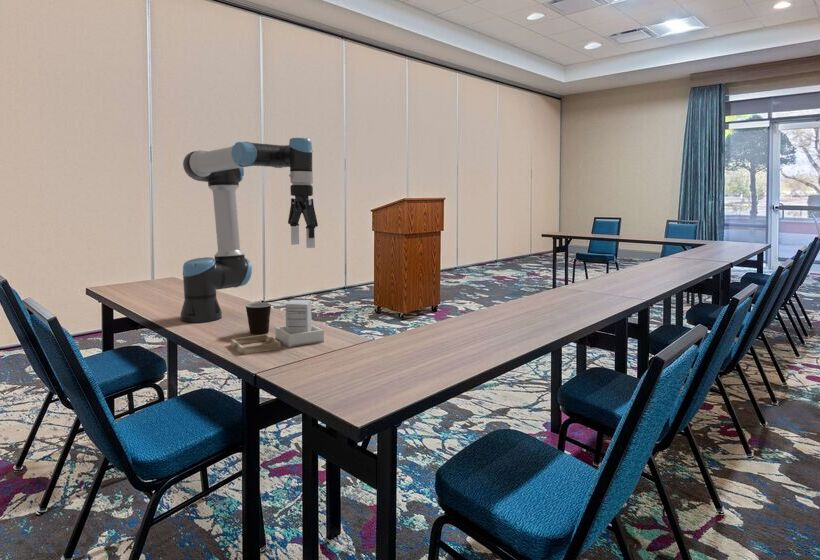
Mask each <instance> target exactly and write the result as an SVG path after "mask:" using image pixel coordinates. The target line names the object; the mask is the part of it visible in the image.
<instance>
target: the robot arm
mask: <svg viewBox="0 0 820 560" xmlns="http://www.w3.org/2000/svg"><path fill="white" fill-rule="evenodd" d="M312 143H313V142H312V139H310V138H307V137H291V138H290V139H289V143H288V144H287V145H285V144H284V145H280V144H269V143H257V142H250V141H237V142H235V143H234V145H232V146H228V147H223V148H219V149H214V150H210V151H209V150H208V151H205V150H194V151H191V152H188V153H187V154H186V156H184V158H183V162H182V165H183V166H182V167H183V170H184V172H185V174H186V176H188V177H189V178H190V179H192V180H195V181H197V182H206V183H207V186H208V187H207V188H209V189H210V190H211V191H212V196H213V198H212V199H213V210H214V220H215V231H216V232H215V233H216V245H217V252H216V253H215V254H214V257H210V256H207V257H197V258H192V259H190V260H187V261H185V262H184V263H183V265H182V278H183V279H182V280H183V294H184V296H183V297H184V301H183V304H182V307H181V311H180V321H182V322H185V323H207V322H214V321H218V320H220V319H222V318H223V311H222V309H221V306H220V304H219V303H220V302H218V298H217V291H218V290H223V289H224V290H225V289H232V288H239V287H243V286H246V285H247V284H248V282H249V281H250V280H251V277H252V274H253V273H252V272H253V269H252V267H253V266H252V263H251V261H250V260H249V259H248V258H247V257H245V253H244V252H243V251H242V250H241V244H240V243H241V242H240V231H239V219H238V209H237V207H238V206H237V195H236V193H237V192H236V190H238V189H239V187H240V184H239V183H241V182H242V181H243V179H244V176H245V169H244V168H246V167H247V168H248V167H271V168H275V169H277V168H278V169H282V168H290V169H289V172H290V173H289V175H288V177H290V181H289V182H290V184H291V185H290V188H289V189H290V196H292V198H290V208H289V215H288V220H287V223H288V225H289V226H290V242H291V243H290V244H291V245H300V227H299V226H300V223H299V222H300V218H301V216H303V218H304V221H305V224H306V226H305V232H306V236H305V238H306V239H305V241H306V242H305V244H306V249H314V248H315V247H316V244H315V243H316V241H315V239H316V238H315V237H316V236H315V234H316V233H315V230H316V227H318V225H319V224H318V220H317V215H316V210H315V206H314V199H313V198H309V197H313V196H314V191H313V190H314V189H313V185H312V184H313V182H314V177H313V175H314V174H313V173H314V172H313V152H314V151H313V144H312Z"/></svg>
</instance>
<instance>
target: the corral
mask: <svg viewBox="0 0 820 560" xmlns="http://www.w3.org/2000/svg"><path fill="white" fill-rule="evenodd" d="M259 342H267V343H265V344H256V345H250V346H243V345H247V344H252V343H259ZM281 343H282V342H280V341H278V340H277V339H276V338H274V337H273V336H271V335H270V334H269V333H267V334H263V335H252V336H251V335H250V336H243V337H237V338H230V345H231V347H232V348H234V349H235V350H237V352H239V354H240V355H241V354H242V355H246V354H254V353H260V352H268V351H274V350H273V349H275V350H281V349H282V346H281ZM280 348H281V349H280Z"/></svg>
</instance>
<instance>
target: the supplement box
mask: <svg viewBox="0 0 820 560" xmlns="http://www.w3.org/2000/svg"><path fill="white" fill-rule="evenodd" d="M312 318H313V317H312V300H311V299H290V300H289V301H287V302H286V303H285V326H286V332H287V333H289V334H296V333H303V332H310V331H312V325H313V324H312V323H313V322H312Z"/></svg>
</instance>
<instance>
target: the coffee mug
mask: <svg viewBox="0 0 820 560" xmlns="http://www.w3.org/2000/svg"><path fill="white" fill-rule="evenodd" d="M271 309H272V303H270V302H251V303H250V302H249V303H247V304H245V310H246V317H247V323H248V329H249V334H250V335H252V336H257V335H264V334H269V331H270V320H271Z"/></svg>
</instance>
